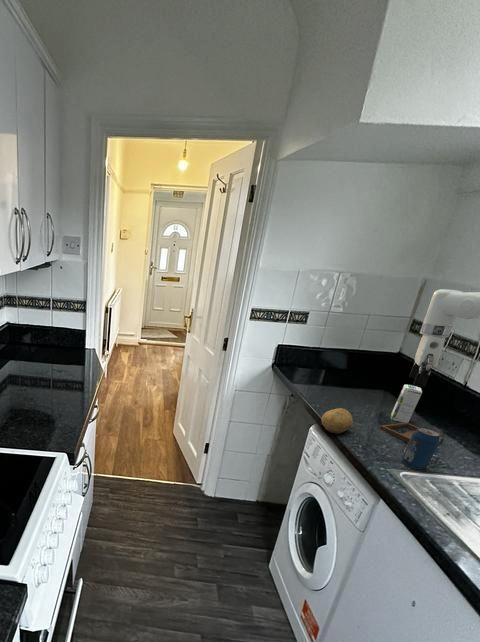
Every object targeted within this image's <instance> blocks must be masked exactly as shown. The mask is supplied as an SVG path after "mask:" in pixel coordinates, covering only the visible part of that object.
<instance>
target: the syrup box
mask: <svg viewBox="0 0 480 642" xmlns="http://www.w3.org/2000/svg"><path fill="white" fill-rule="evenodd" d="M422 395H423V389H422V388H421V387H420V386H416V385H413V384H404V385H403V386H402V389H401V391H400V393H399V396H398V398H397V400H396V403H394V404H395V405H394V407H393V409H392V411H391V414H390V420H391V421H395V422H399V423H409V422H410V420H411V418H412V416H413V413H414V412H415V409H416V407H417V406H418V403H419V401H420V399H421V396H422Z"/></svg>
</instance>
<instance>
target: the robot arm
mask: <svg viewBox="0 0 480 642" xmlns="http://www.w3.org/2000/svg"><path fill="white" fill-rule="evenodd" d="M457 318H460V319H466V320H474V319H475V320H476V319H480V291H472V292H471V291H470V292H469V291H467V292H464V291H462V290H458V289H445V288H442V289H441V288H440V289H437V290H435V291H434V292H433V294H432V297H431V299H430V303H429V305H428V307H427V311H426V314H425V316H424V319H423V322H422V324H421V327H420V331H419V334H420V335H422V336H421V338H420V341H419V344H418V346H417V350H416V352H415V355H414V363H413V366H412V367H411V371H410V373H409V376H408V377H409V378H410V379H414V380H413V384H412V385H413V386H416V387H426V386H427V384H428V381H429V379H430V376H431V372H432V369H436V368H437V367H438V364H439V362H440V358H441V355H442V353H443V349H444V346H445V342H446V338H450V335H451V333H452V330H453V327H454V325H455V322H456V319H457Z"/></svg>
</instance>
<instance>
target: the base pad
mask: <svg viewBox="0 0 480 642" xmlns="http://www.w3.org/2000/svg"><path fill="white" fill-rule="evenodd" d="M419 427H420V426H419ZM419 427H418V426H416V425H414V424H413V423H412V424H411V423H409V422H408V423H403V422H399V423H392V424H383V425H380V428H379V429H380V430H382V431H384V432H385V433H387V434H389V435H391V436H393V437H395V438H396V439H399V440H401V441H403V442H405V443H407V444H408V443H409V440H410V438H411V436H412V434H413V432H414V431H415V430H417V428H419ZM400 428H407V429H409V430H410V431H405V432H402V433H400V432H398V431H396V430H393V429H400ZM443 441H444V437H442V436H440V442H439V444H442V443H443Z"/></svg>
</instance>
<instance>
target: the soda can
mask: <svg viewBox="0 0 480 642" xmlns="http://www.w3.org/2000/svg"><path fill="white" fill-rule="evenodd" d="M440 437H441V433H440V432H439V431H438V430H435V429H432V428H429V427H424V426H419V428H417V430H415V431H414V432H413V434H412V436H411V438H410V440H409V443H407V444H406V447H405V449H404V451H403V454H402V456H401V460H402V463H403V464H404V465H405V466H407V467H409V468H412V469H415V470H424V469H425V468H427V467H428V466H429V465H430V462H431V460H432V458H433V456H434V454H435V452H436V450H437V448H438V446H439V444H440V443H439V442H440Z"/></svg>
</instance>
